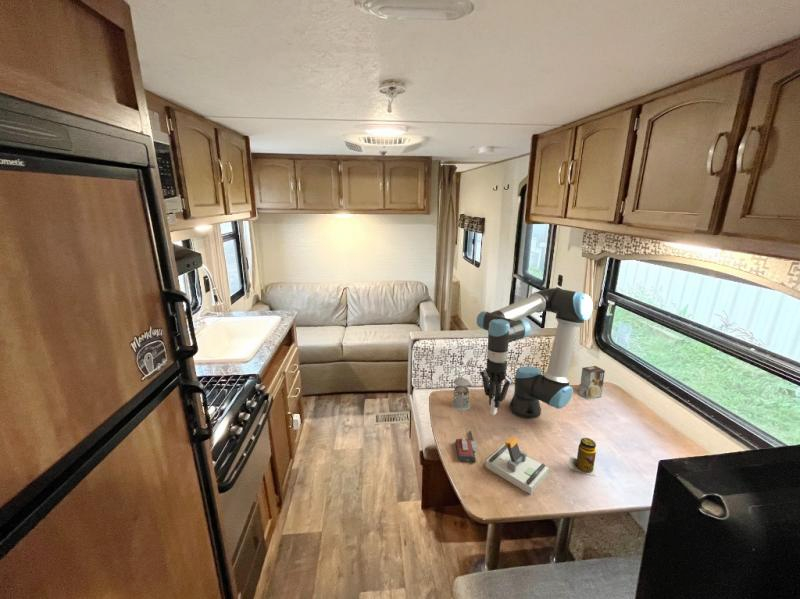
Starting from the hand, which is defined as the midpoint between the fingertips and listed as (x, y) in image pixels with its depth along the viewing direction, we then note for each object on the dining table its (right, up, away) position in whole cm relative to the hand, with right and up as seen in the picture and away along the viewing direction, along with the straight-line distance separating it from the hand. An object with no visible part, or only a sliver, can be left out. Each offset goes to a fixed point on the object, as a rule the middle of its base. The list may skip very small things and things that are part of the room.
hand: (493, 413), depth 137 cm
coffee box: (+67, -7, +50) cm, 84 cm away
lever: (+8, -17, -4) cm, 19 cm away
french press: (-5, -10, +43) cm, 45 cm away
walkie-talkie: (-9, -19, +11) cm, 24 cm away
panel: (+8, -22, -3) cm, 23 cm away
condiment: (+35, -21, -1) cm, 41 cm away
